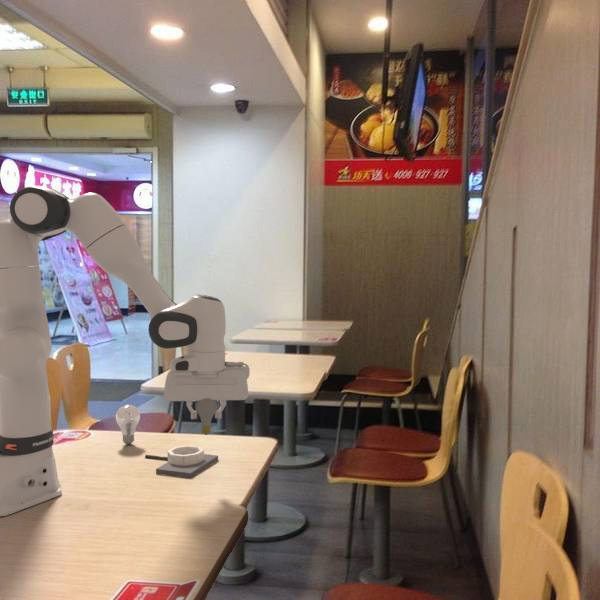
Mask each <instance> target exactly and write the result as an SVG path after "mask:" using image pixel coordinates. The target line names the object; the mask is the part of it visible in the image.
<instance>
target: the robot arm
mask: <svg viewBox="0 0 600 600" xmlns="http://www.w3.org/2000/svg"><path fill="white" fill-rule="evenodd" d="M9 213H10V216H11V218H10V219H9V218H8V219H2V220H0V517H5V516H9V515H11V514H14V513H17V512H20V511H22V510H25V509H28V508H29V507H33V506H36V505H39V504H41V503H43V502H47V501H49V500H51V499H53V498H56V497H59V496H61V495H62V494H63V493H62V488H61V484H60V481H59V480H60V479H59V478H58V469H57V463H56V457H55V455H54V450H53V445H54V438H55V436H54V429H53V428H52V417H51V415H52V412H51V411H52V410H51V394H50V390H49V383H48V375H47V373H48V372H47V360H49V357H50V356H51V354H52V351H53V350H52V349H53V346H52V345H53V344H52V338H51V333H50V331H51V330H50V327H49V326H50V325H49V320H48V316H47V311H46V307H45V303H44V296H43V295H44V294H43V285H42V279H41V269H40V261H39V253H38V252H39V250H38V249H39V244H40V242H41V241H42V242H44V241H47V240H49V239H52V238H54V237H57V236H60V235H63V234H65V233H66V232H70V233H71V234H73V235H74V236H75V237H76V239H77V240H78V241H79V242H80V243H81V246H82V247H83V248H84V250H85V251H86V252H87V254H88V255H89V256H90V258H91V259H92V260H93V261H94V262H95V264H97V265H98V266H99V268H100V269H102V271H104V273H106V274H108V275H110V276H112V277H114V278H116V279H118V280H119V281H121V282H123V283H124V284H125V285H126V286H128V287H129V288H130V290H132V292H133V293H134V294H135V296H136V297H137V299H138V300H139V301H140V303H141V304H142V306H143V307H144V308H145V309H146V311H147V313H149V316H150V318H151V320H150V321H149V324H148V330H147V331H148V334H149V338H150V340H151V341H152V342H153V343H154V344H155V345H156V346H157V347H159V348H162V349H165V350H173V349H177V348H182V347H186V346H187V348H188V353H187V354H185V355H181V356H177V357H175V358H172V359H171V360H170V362H169V371H168V372H167V375H166V378H165V382H164V391H163V398H164V399H165V401H166V402H186V407H187V409H188V410H189V412H190V419H191V420H197V419H198V413H197V411H196V410H194V408H193V407H192V406H193V402H196V401H200V400H202V399H204V398H210V399H212V400H217V401H219V403H220V406H219V409H217V410H216V412H215V414H214V418H215V419H216V420H217V419H221V420H222V412H223V410H224V409H225V407H226V405H227V401H245V400H246V399H247V398H248V397H249V387H248V385H249V384H248V379H249V378H250V367H249V365H248V364H246V363H245V362H244V361H226V346H225V335H226V331H227V329H226V328H227V327H226V326H227V325H226V324H227V323H226V322H227V321H226V311H225V309H226V308H225V305H224V303H223V302H222V301H221V300H220V299H218V298H217V297H214V296H210V295H205V294H193V295H192V296H191V297H189V298H188V299H186V300H183V302H180V303H178V304H177V303H176V302H174V301H173V300H172V298H170V297H169V296H168V294H167V293H166V291H165V290H164V288H163V287H162V286H161V285H160V283H159V282H158V281H157V279H156V278H155V276H154V275H153V273H152V272H151V270H150V268H149V266H148V264H147V262H146V259H145V258H144V257H145V256H144V255H143V253H142V250H141V248H140V246H139V244H138V241H137V240H136V238H135V236H134V234H133V232H132V231H131V229H130V228H129V226H128V225H127V224H126V222H125V221H124V219H123V218H122V216H121V215H120V214H119V213H118V212H117V210H115V208H114V207H113V205H112V204H110V203H109V202H108V201H107V200H106V198H104V197H103V196H102V195H101V194H98V193H96V192H87V193H83V194H81V195H79V196H76V197H75V198H73V199H70V198H69V197H68V196H66V195H65V194H63V193H61V192H59V191H58V190H57V189H53V188H51V187H44V186H41V185H29V186H26V187H23V188H22V189H19V190H18V191H16V193H15V194H14V195H13V196H12V198H11V201H10V203H9Z"/></svg>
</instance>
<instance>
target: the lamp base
mask: <svg viewBox="0 0 600 600" xmlns="http://www.w3.org/2000/svg"><path fill="white" fill-rule="evenodd" d="M144 457H145V458H146V459H155V460H164V461H168V462H165V463H164V464H162V465H160V466H158V467H157V468H155V474H156V475H165V476H173V477H180V478H181V477H182V478H189V479H191V478H192V477H194V476H196V475H197V474H199V473H200V472H202V471H203V470H205V469H206V468H208V467H209V466H211V465H214V463H216V462H218V461H219V455H215V454H205V450H204V448H202V447H201V446H199V445H181V446H175V447H172V448H171V449H168V450H167V456H161V455H151V454H145V455H144Z"/></svg>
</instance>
